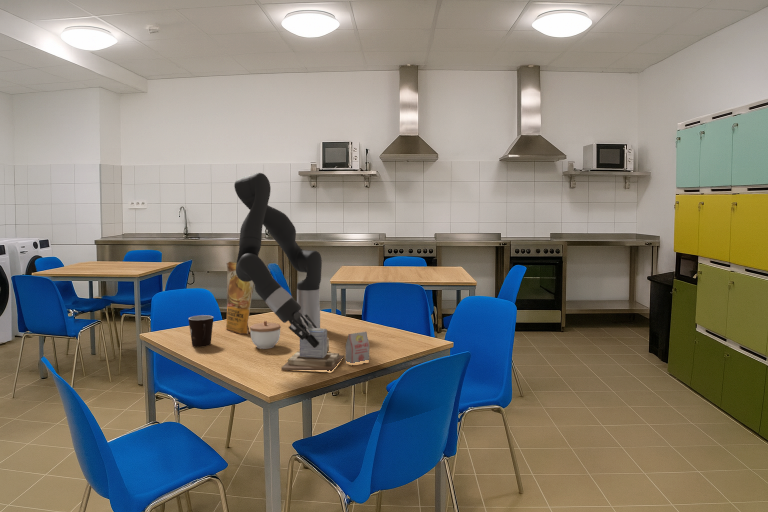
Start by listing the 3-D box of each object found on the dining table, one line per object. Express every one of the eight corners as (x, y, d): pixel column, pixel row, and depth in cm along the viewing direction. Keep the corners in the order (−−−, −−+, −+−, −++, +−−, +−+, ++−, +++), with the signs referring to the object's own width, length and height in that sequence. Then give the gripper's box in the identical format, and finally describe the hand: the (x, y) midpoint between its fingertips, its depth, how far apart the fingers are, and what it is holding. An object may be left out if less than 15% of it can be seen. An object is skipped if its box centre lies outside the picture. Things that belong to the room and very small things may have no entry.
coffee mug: (193, 341, 184) (192, 315, 183) (216, 341, 185) (216, 315, 184) (183, 350, 172) (182, 322, 172) (208, 349, 173) (207, 321, 172)
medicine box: (327, 355, 159) (327, 328, 158) (323, 358, 154) (323, 331, 154) (303, 353, 160) (304, 327, 159) (299, 357, 156) (299, 330, 155)
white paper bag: (345, 363, 159) (345, 333, 158) (362, 360, 163) (363, 330, 162) (351, 366, 156) (351, 335, 155) (369, 362, 160) (369, 332, 159)
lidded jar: (271, 351, 171) (270, 325, 171) (244, 349, 175) (244, 323, 174) (285, 344, 182) (285, 319, 181) (260, 341, 185) (260, 317, 184)
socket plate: (297, 356, 167) (297, 348, 166) (344, 358, 164) (344, 351, 164) (281, 370, 151) (281, 362, 151) (332, 373, 148) (332, 365, 148)
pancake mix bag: (234, 325, 212) (233, 260, 209) (259, 333, 199) (258, 264, 196) (220, 328, 207) (219, 261, 204) (244, 336, 194) (243, 265, 191)
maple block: (315, 351, 173) (315, 337, 173) (328, 351, 172) (329, 337, 172) (310, 354, 169) (310, 340, 168) (324, 355, 167) (324, 341, 167)
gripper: (283, 300, 150) (321, 341, 149) (298, 293, 164) (333, 331, 163) (266, 316, 151) (304, 357, 150) (282, 308, 165) (317, 345, 164)
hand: (319, 343), depth 157 cm, fingers closed on medicine box, 4 cm apart
